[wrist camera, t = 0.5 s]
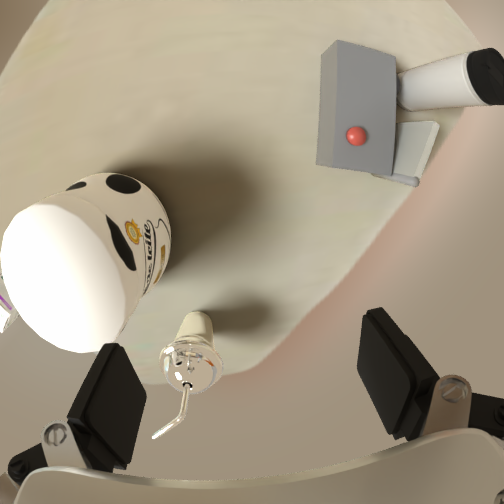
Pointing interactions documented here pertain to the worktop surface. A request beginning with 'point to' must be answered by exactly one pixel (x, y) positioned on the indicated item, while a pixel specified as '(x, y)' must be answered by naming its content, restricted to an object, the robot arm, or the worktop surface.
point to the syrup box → (6, 307)
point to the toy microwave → (357, 109)
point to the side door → (411, 151)
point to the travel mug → (454, 82)
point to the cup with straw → (190, 361)
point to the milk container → (86, 259)
